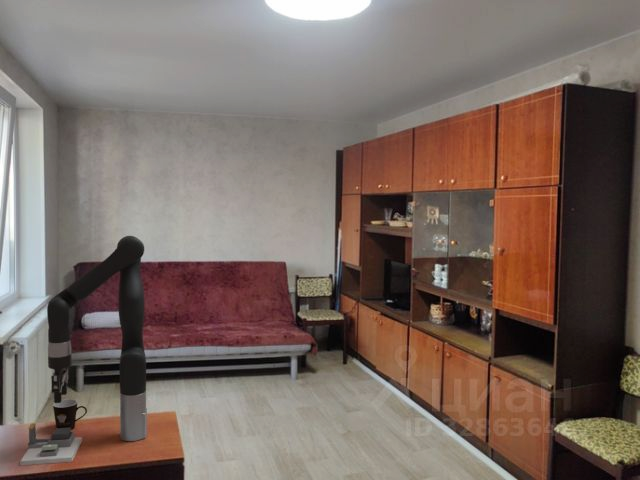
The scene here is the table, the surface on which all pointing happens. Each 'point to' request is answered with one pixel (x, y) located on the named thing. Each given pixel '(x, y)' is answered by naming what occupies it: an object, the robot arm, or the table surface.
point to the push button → (61, 434)
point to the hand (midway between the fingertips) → (60, 398)
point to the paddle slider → (32, 434)
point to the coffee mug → (66, 413)
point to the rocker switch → (49, 447)
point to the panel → (52, 451)
